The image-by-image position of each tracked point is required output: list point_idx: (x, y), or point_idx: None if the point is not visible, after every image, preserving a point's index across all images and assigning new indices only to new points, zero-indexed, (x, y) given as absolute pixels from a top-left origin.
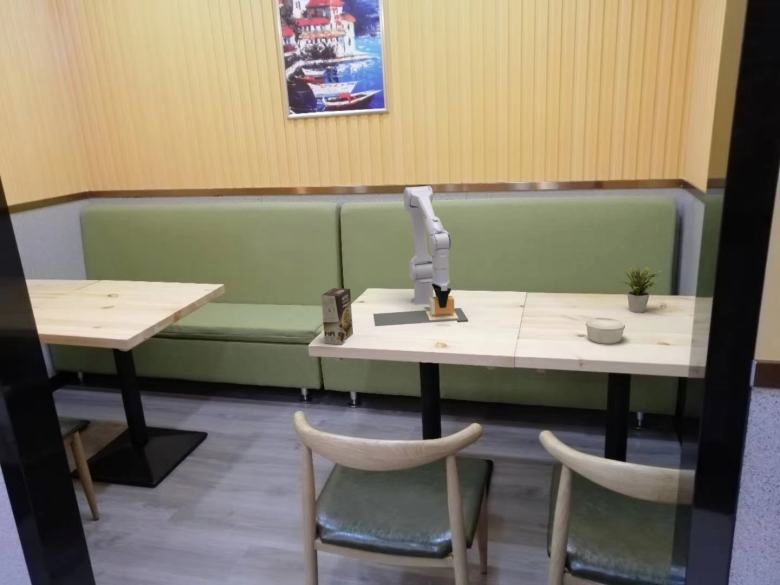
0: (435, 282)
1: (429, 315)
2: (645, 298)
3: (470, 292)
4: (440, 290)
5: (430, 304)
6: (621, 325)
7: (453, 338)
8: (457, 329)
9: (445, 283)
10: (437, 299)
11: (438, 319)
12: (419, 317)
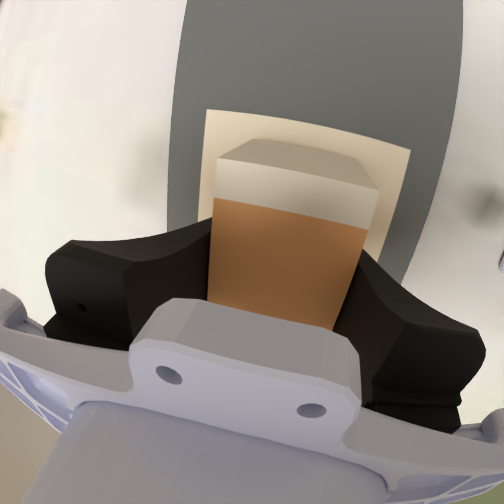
0: (51, 373)
1: (308, 135)
2: None
3: (496, 409)
4: (61, 303)
5: (302, 159)
6: (54, 428)
7: (21, 175)
8: (85, 218)
9: (41, 411)
10: (247, 239)
11: (201, 167)
12: (301, 59)
